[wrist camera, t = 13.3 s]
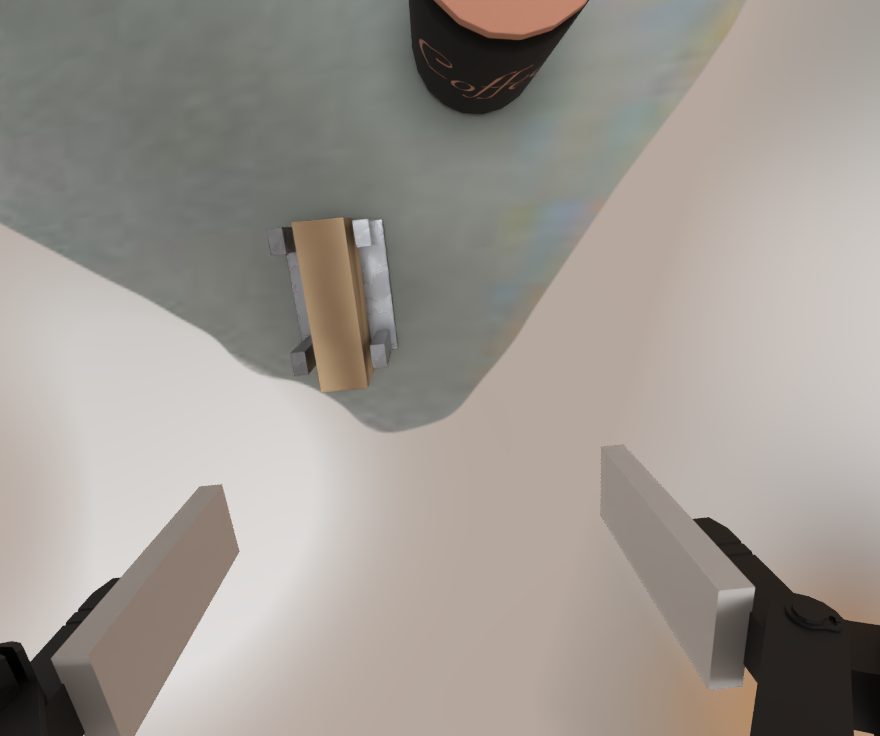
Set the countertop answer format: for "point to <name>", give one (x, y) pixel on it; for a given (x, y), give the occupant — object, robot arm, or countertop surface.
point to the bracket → (375, 290)
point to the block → (335, 302)
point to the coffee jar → (485, 46)
